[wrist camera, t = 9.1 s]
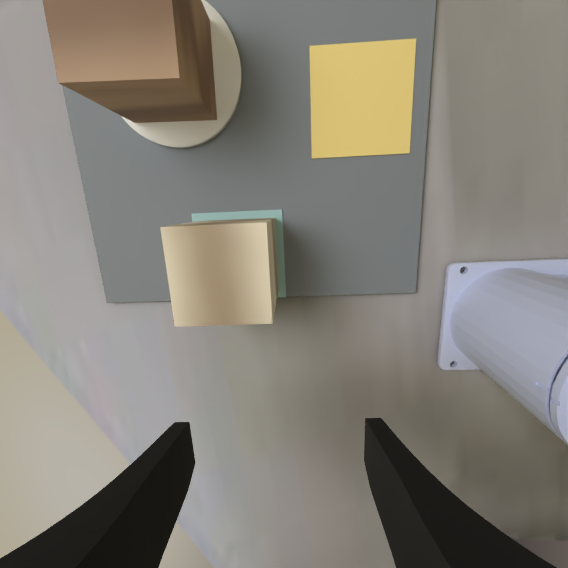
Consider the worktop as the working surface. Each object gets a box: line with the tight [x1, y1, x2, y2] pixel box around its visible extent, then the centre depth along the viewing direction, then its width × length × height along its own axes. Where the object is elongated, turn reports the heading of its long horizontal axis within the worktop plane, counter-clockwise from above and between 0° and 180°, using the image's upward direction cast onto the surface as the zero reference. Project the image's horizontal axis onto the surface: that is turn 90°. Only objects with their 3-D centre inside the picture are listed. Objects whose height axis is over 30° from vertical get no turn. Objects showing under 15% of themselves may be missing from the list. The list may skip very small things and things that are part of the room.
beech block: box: [160, 218, 279, 326], centre depth 17 cm, size 5×5×6 cm
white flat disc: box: [122, 0, 242, 148], centre depth 17 cm, size 8×8×1 cm
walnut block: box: [43, 0, 217, 123], centre depth 14 cm, size 5×5×6 cm
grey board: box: [62, 0, 436, 303], centre depth 19 cm, size 22×18×1 cm
